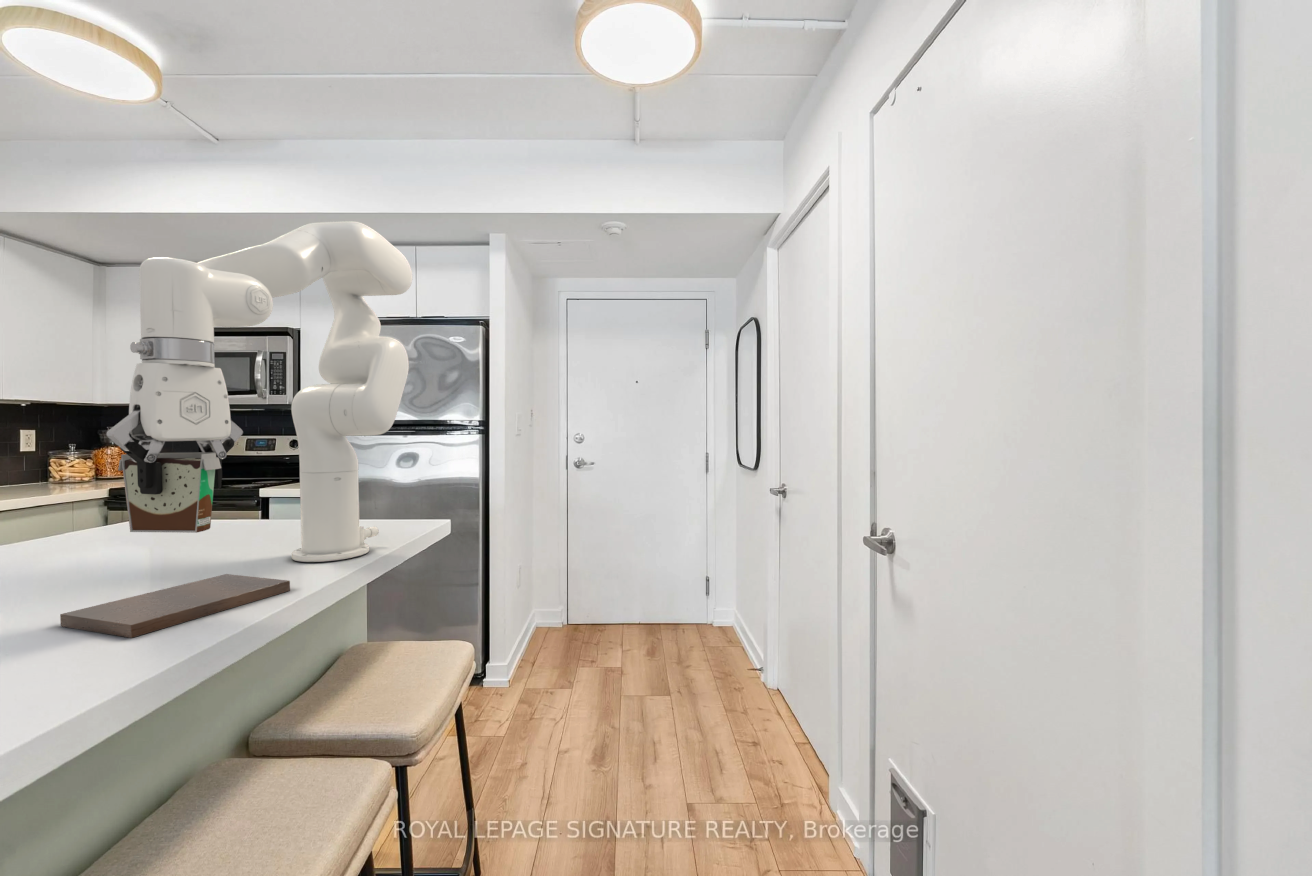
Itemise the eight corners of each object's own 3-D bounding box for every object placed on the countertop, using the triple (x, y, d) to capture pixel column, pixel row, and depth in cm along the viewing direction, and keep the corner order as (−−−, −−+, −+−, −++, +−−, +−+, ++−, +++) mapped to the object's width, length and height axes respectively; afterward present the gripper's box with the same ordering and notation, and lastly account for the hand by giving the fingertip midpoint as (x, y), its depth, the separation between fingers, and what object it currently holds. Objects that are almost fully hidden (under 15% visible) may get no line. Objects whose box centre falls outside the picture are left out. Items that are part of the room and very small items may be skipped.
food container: (245, 524, 81) (244, 451, 81) (207, 532, 75) (205, 453, 75) (163, 524, 83) (162, 452, 82) (119, 531, 76) (117, 454, 76)
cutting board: (226, 583, 91) (226, 573, 91) (290, 590, 86) (290, 580, 86) (60, 626, 72) (59, 614, 72) (131, 638, 68) (130, 625, 67)
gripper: (120, 346, 69) (124, 499, 69) (262, 361, 85) (265, 485, 86) (79, 349, 71) (83, 497, 72) (225, 363, 88) (228, 483, 88)
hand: (182, 489), depth 79 cm, fingers closed on food container, 6 cm apart
